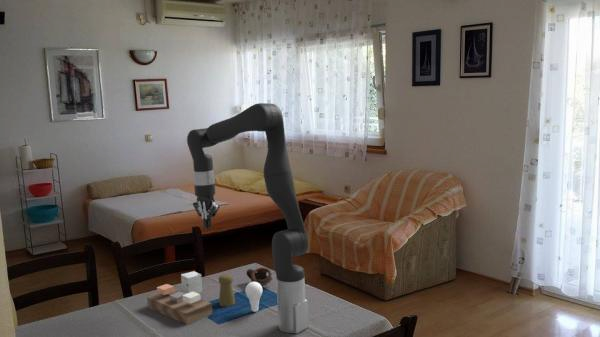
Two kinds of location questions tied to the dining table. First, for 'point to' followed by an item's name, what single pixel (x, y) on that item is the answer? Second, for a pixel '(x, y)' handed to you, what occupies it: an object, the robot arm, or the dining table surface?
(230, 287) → the olive rounded waisted cylinder
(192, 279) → the skincare box
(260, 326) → the dining table surface
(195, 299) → the off-white key
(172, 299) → the grey key
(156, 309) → the key panel
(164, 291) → the terracotta key
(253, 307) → the lightbulb
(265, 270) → the pottery mug
